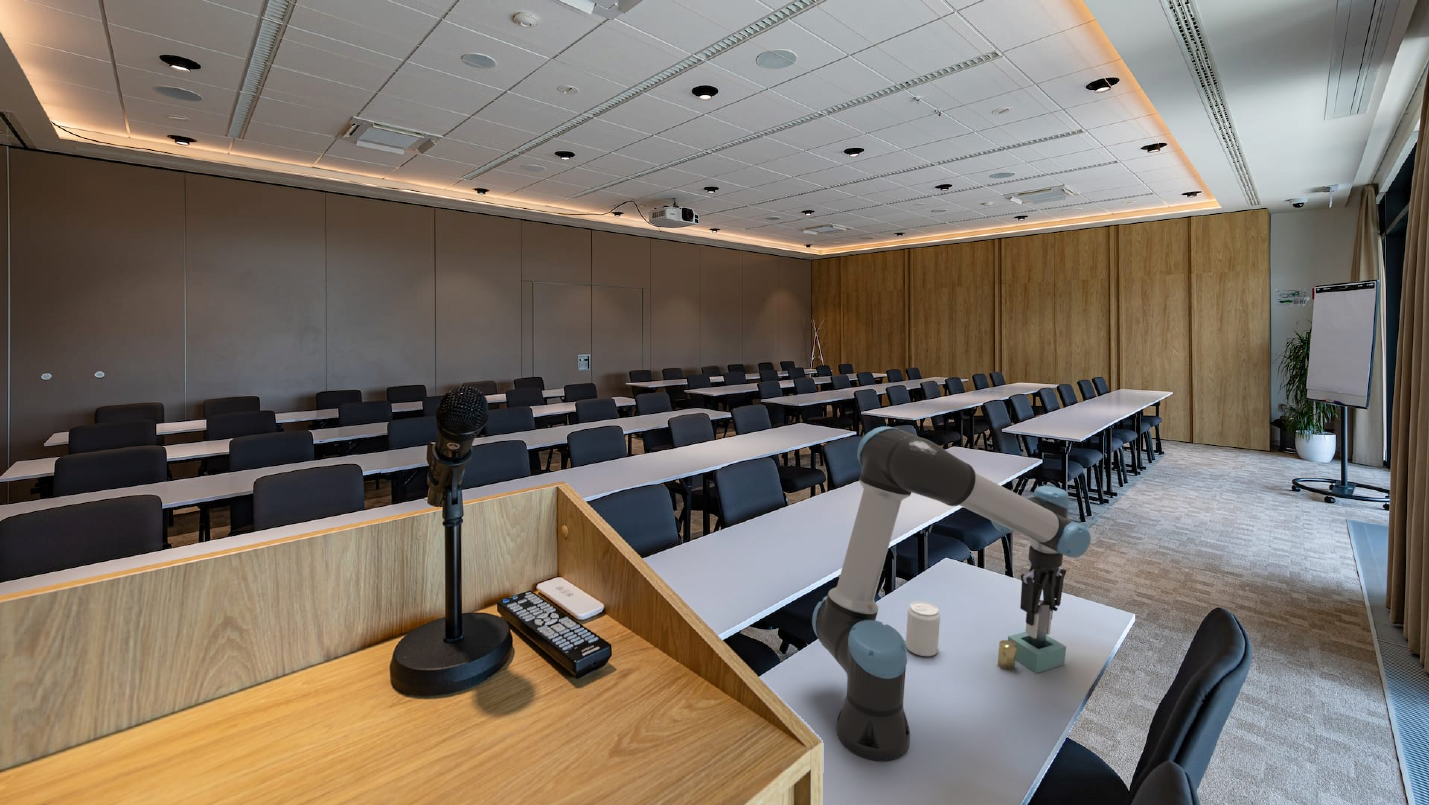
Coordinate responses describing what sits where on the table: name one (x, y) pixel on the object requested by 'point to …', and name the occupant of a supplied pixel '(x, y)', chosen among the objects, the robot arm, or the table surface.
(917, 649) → the beverage can
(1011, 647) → the short pin
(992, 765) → the table surface
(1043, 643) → the long pin
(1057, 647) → the hole block
